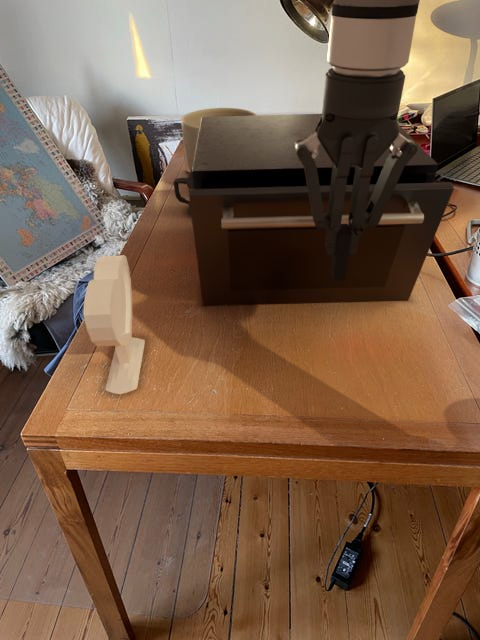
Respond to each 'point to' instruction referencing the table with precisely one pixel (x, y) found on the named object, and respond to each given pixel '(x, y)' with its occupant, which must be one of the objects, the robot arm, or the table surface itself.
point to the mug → (189, 184)
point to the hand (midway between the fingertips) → (337, 274)
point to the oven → (276, 154)
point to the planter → (193, 126)
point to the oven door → (308, 245)
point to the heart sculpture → (114, 321)
